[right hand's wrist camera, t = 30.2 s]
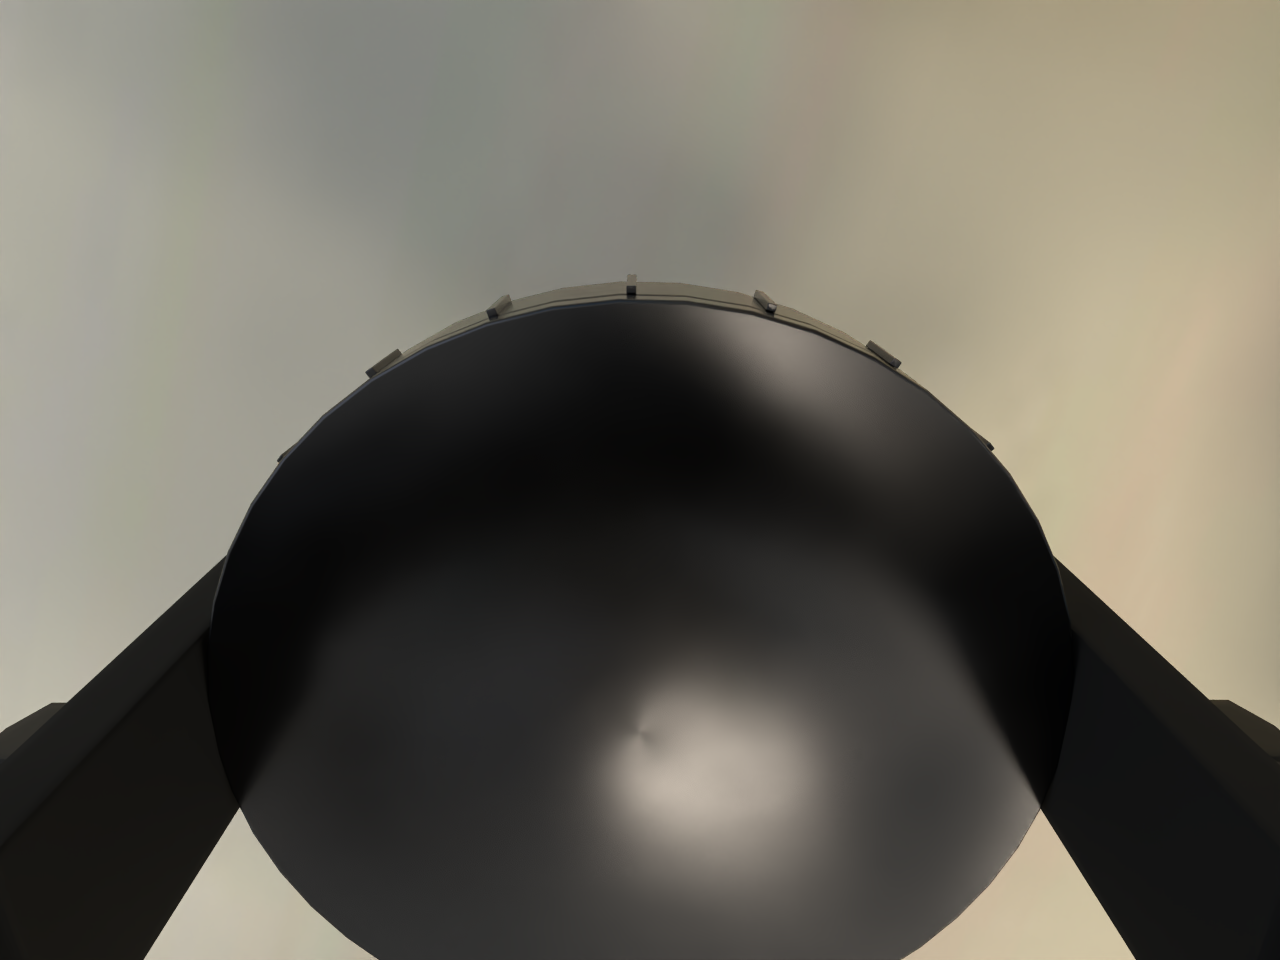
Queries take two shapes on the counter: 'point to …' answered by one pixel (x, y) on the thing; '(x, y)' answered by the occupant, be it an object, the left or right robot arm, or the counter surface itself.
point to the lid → (640, 643)
